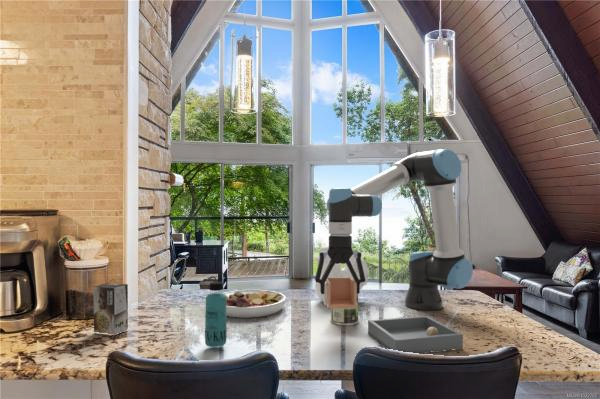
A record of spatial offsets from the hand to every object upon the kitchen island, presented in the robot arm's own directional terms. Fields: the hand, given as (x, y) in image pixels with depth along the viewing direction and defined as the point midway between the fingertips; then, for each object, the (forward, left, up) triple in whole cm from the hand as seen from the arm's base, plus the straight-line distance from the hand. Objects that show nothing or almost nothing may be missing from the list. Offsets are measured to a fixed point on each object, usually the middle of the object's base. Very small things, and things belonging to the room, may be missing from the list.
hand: (339, 303), depth 133 cm
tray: (-21, +9, -11) cm, 26 cm away
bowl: (+25, -41, -11) cm, 49 cm away
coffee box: (+74, -22, -11) cm, 78 cm away
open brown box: (0, 0, 0) cm, 0 cm away
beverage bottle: (+40, +1, -11) cm, 41 cm away
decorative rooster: (-16, -43, -11) cm, 47 cm away
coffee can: (-7, -16, -11) cm, 20 cm away
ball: (-27, +11, -8) cm, 30 cm away
